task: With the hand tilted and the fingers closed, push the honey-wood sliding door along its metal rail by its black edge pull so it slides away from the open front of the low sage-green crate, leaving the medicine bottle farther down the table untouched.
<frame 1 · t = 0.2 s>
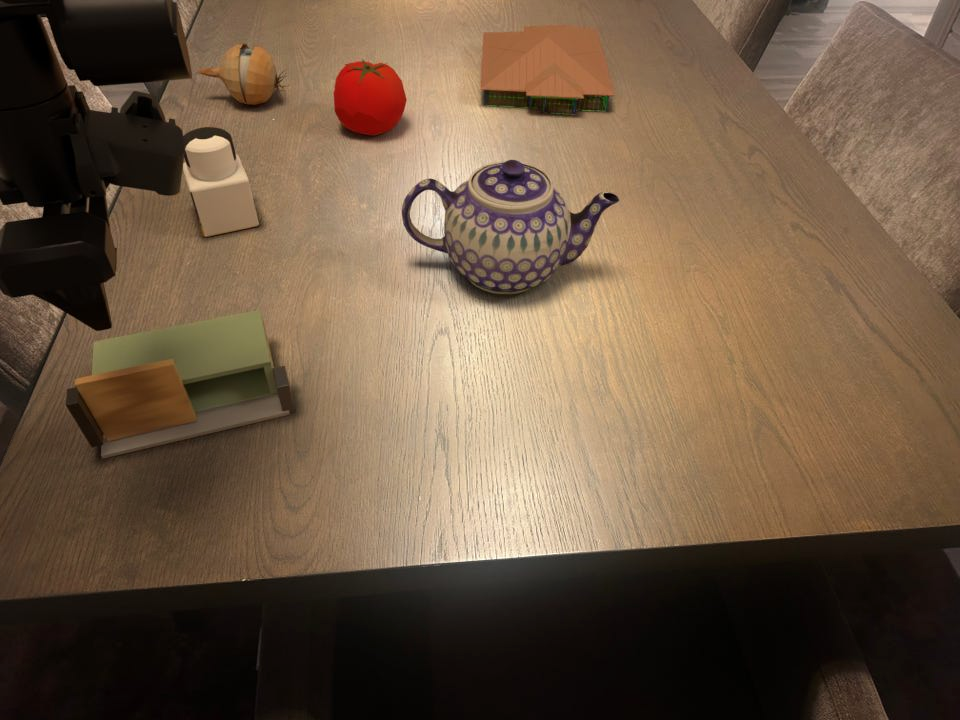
hand: (105, 289, 52), 18 cm above the table, tool pointing down, fingers open, 9 cm apart
house: (542, 78, 126), on the table
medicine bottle: (227, 219, 90), on the table
sliding door: (133, 407, 61), point 5 cm above the table, slide at 0.0 cm
tomato: (371, 129, 110), on the table
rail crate: (198, 422, 66), on the table
split yellow onion: (250, 102, 115), on the table
teapot: (503, 270, 85), on the table
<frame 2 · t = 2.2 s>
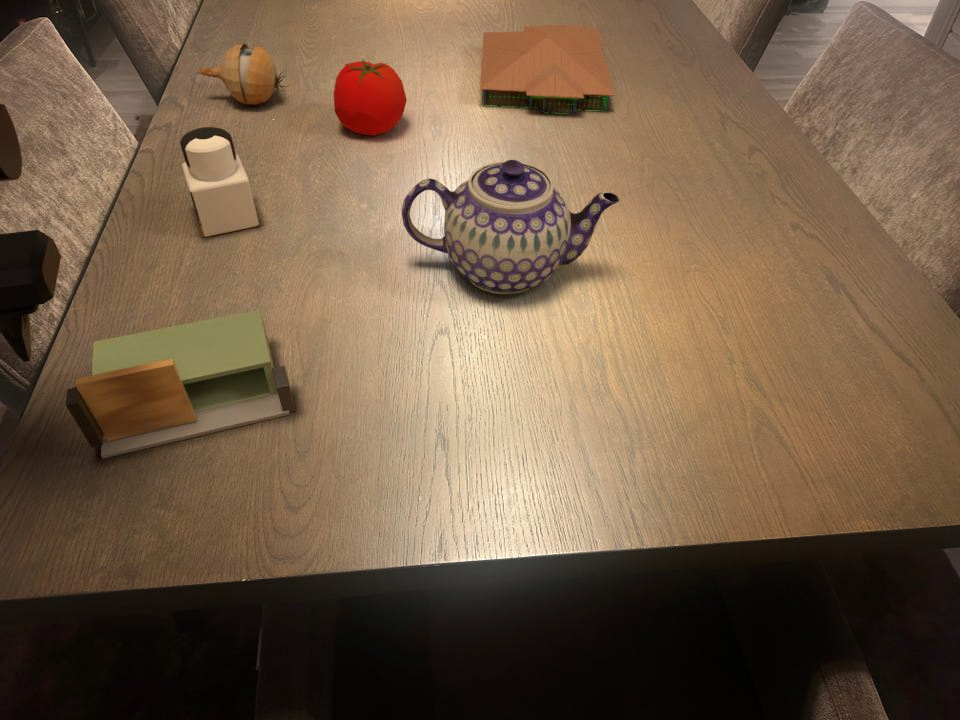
nothing on the table moved.
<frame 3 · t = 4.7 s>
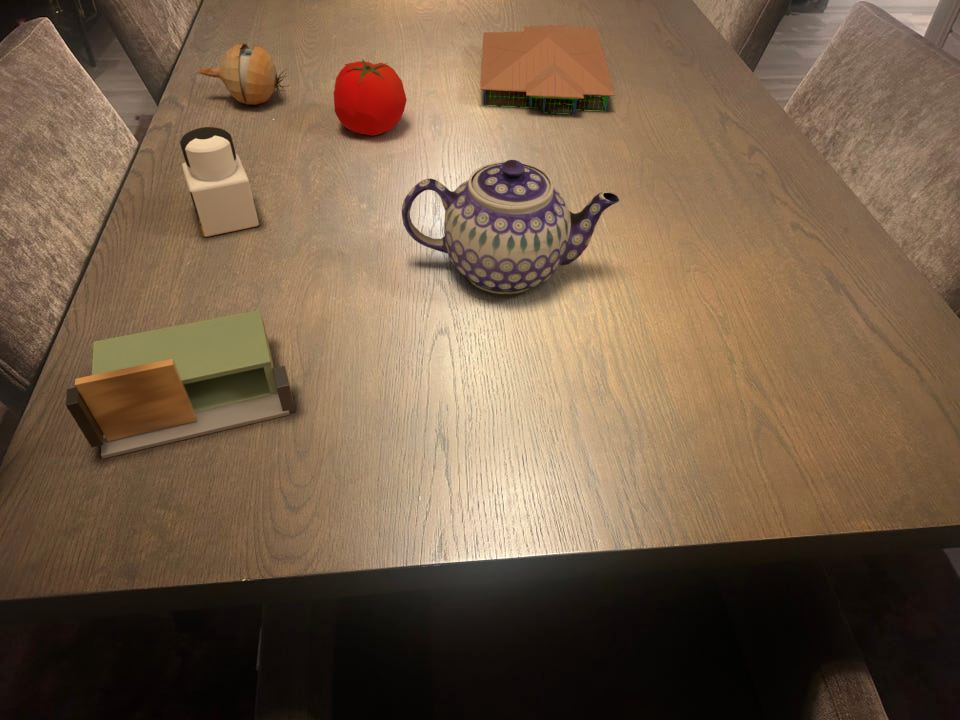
nothing on the table moved.
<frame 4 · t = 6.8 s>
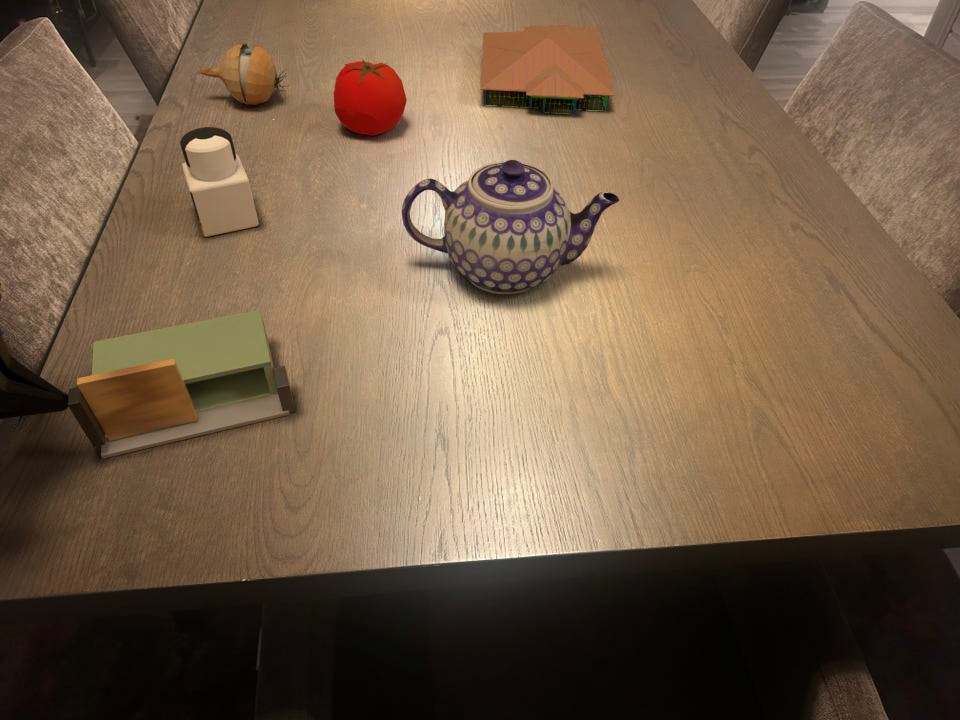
hand: (68, 404, 58), 7 cm above the table, tool tilted 45°, fingers closed, pressing on sliding door
sliding door: (135, 406, 61), point 5 cm above the table, slide at 0.1 cm, touching gripper
everything else where it was.
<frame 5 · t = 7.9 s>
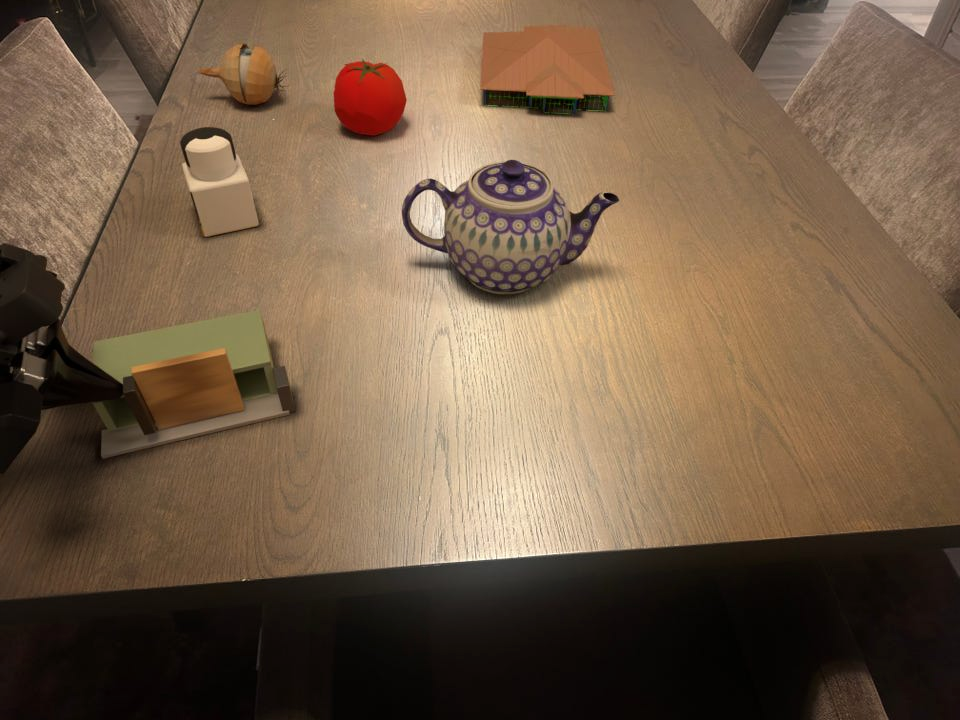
hand: (122, 392, 60), 7 cm above the table, tool tilted 45°, fingers closed, pressing on sliding door
sliding door: (185, 395, 62), point 5 cm above the table, slide at 4.5 cm, touching gripper
everything else where it was.
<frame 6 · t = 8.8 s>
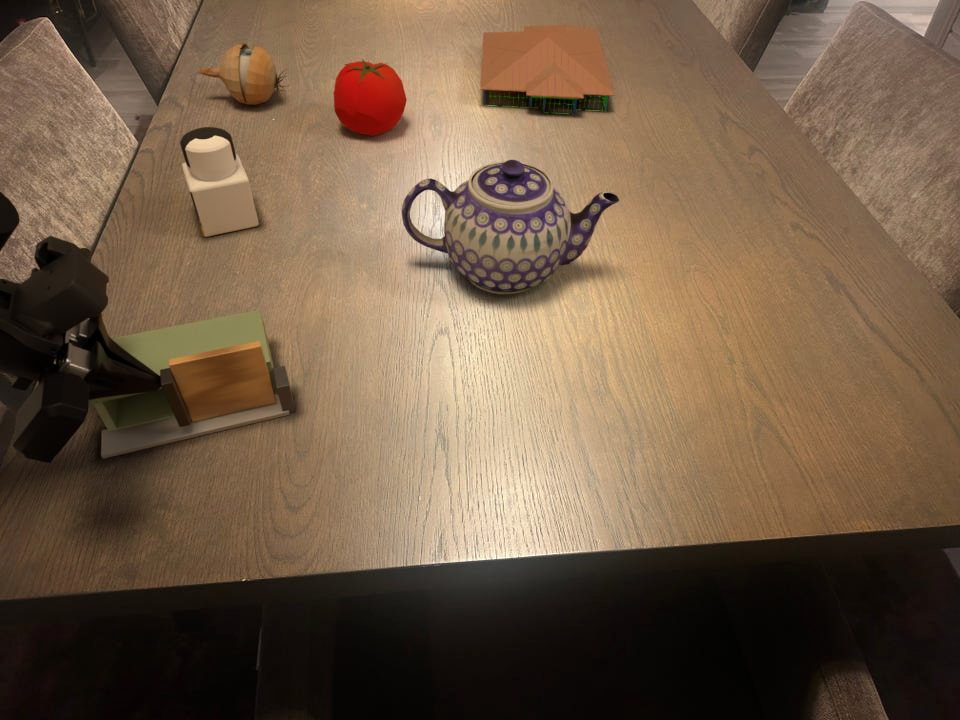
hand: (160, 384, 60), 7 cm above the table, tool tilted 45°, fingers closed, pressing on sliding door
sliding door: (220, 388, 63), point 5 cm above the table, slide at 7.6 cm, touching gripper
everything else where it was.
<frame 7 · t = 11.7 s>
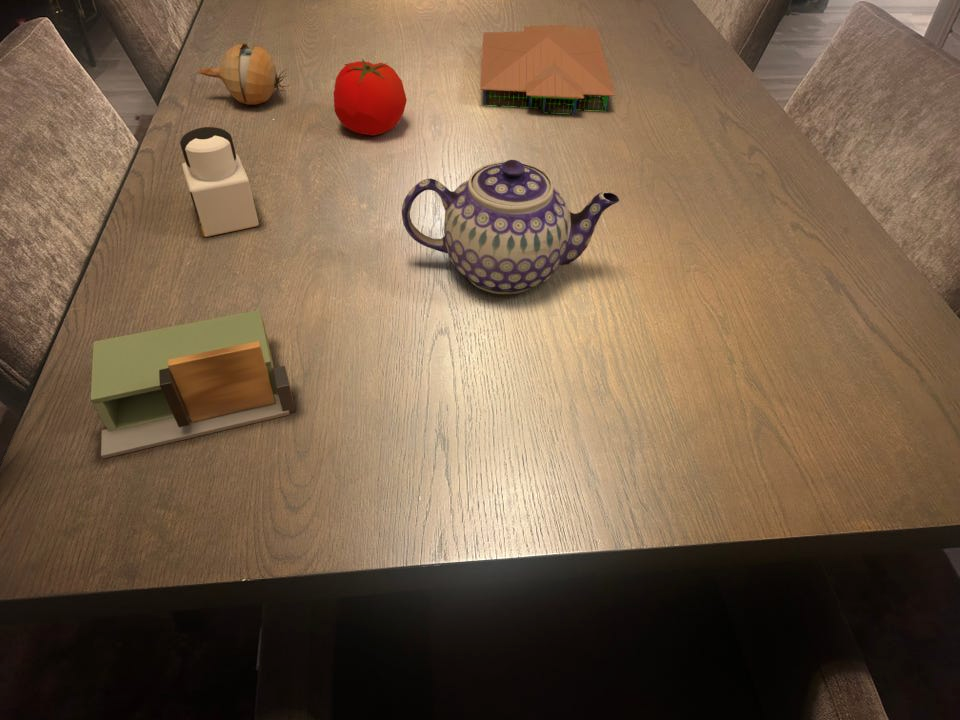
sliding door: (219, 388, 63), point 5 cm above the table, slide at 7.5 cm
everything else where it was.
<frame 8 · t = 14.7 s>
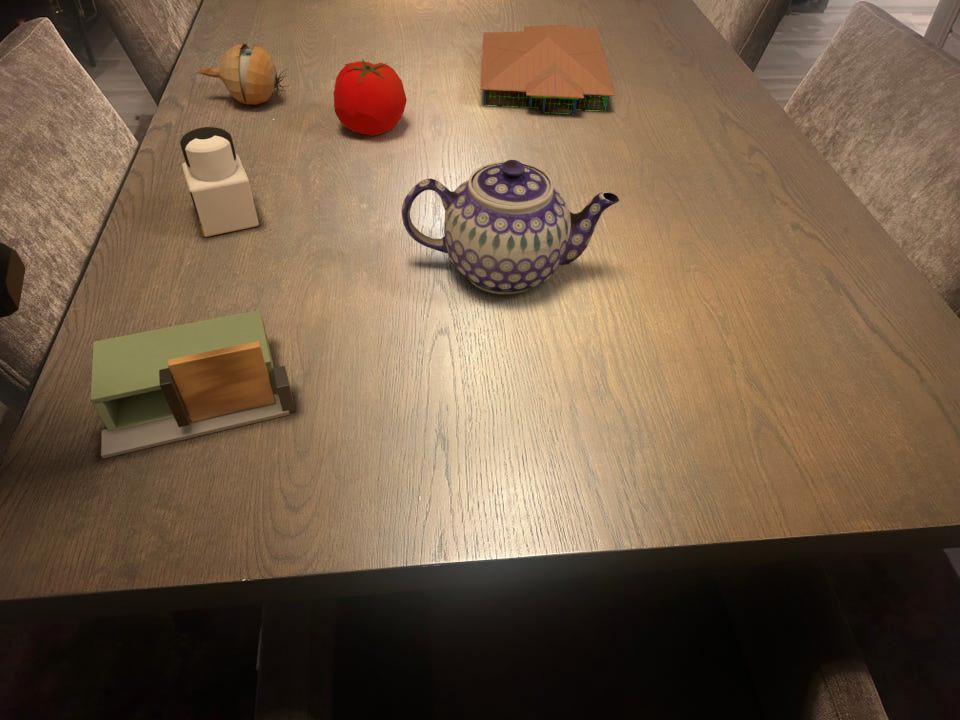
nothing on the table moved.
at the end: sliding door slide at 7.5 cm; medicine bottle moved 0.2 cm from its start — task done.
